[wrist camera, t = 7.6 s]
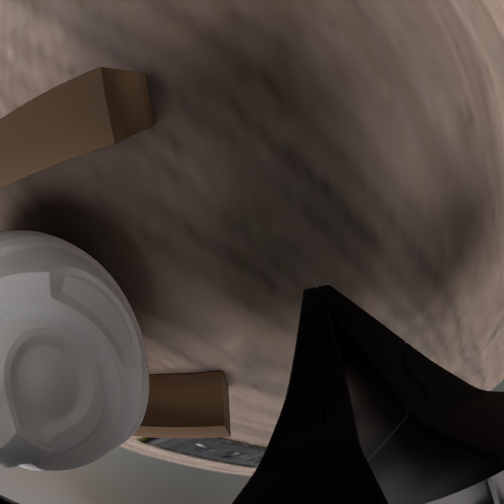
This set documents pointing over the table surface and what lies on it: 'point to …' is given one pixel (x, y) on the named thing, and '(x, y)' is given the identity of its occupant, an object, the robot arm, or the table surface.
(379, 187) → the table surface
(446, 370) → the robot arm
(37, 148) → the carrier cradle
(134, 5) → the table surface
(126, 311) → the white carved ball
